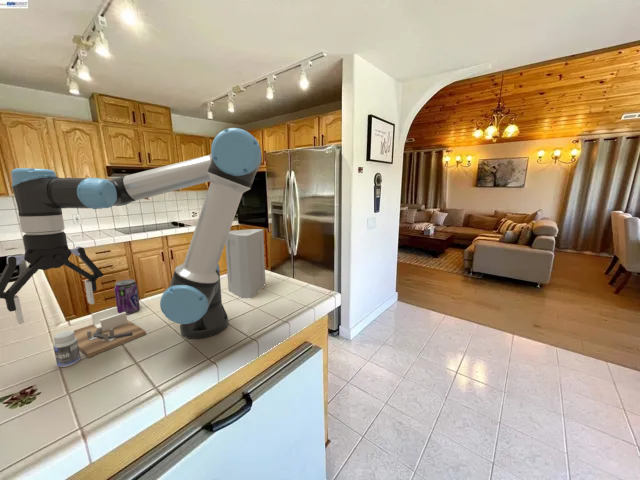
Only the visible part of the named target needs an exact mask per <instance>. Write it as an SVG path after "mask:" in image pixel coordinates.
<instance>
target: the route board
mask: <svg viewBox="0 0 640 480" xmlns="http://www.w3.org/2000/svg"><path fill="white" fill-rule="evenodd" d="M127 322H128V323H127V324H124V325H122V326H119V327H116V328H113V329H109V330H108V331H105V332H102V328H101V327H99V328H97V327H95V326H94V325H93V323H92V324H90V325H87V326H83V327H80V328H77V329H74V330H73V331H74V333H75V337H76V338H77V340H78V346H79V352H81V353H82V354H84V355H85V356H86V358H88V359H89V358H92V357H94V356H97V355H99V354H100V353H104V352H106V351H108V350H111V349H114V348H116V347H119V346H121V345H123V344H126V343H129V342H131V341H133V340H136V339H138V338H141V337H143V336H145V335H147V331H146V330H145V329H143V328H142V327H140V326H138V325H137V324H135V323H133V322H131V321H130V320H128V319H127ZM97 329H98V335H103V337H104V339H98V338H97V337H94V336H93V335H94V333H95V332H96V330H97ZM129 332H132V335H131V336H126V337H121V338H116V339H115V338H111V339H109V337H108V336H113V335H118V334H123V333H129Z"/></svg>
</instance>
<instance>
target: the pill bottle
mask: <svg viewBox="0 0 640 480" xmlns="http://www.w3.org/2000/svg"><path fill="white" fill-rule="evenodd" d="M53 340H54V343H53V349H54V355H55V356H54V357H55V361H56V366H57V367H59V368H65V367H66V368H67V367H69V366H72V365H75V364H76V363H78V362H79V361H80V360H81V354H80V352H81V351H80V350H79V346H78V340H77V338H76V337H75V333H74V330H65V331H62V332H59V333H56V334H55V335H54V336H53Z"/></svg>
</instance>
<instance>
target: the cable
mask: <svg viewBox="0 0 640 480" xmlns="http://www.w3.org/2000/svg"><path fill="white" fill-rule="evenodd" d="M131 335H132V332H129V333H123V334H118V335H113V336H108V337H109V339H111V338H115V339H116V338H121V337H126V336H131ZM93 336H94V337H97V338H98V339H104V337H103V335H98V329H97V330H96V332H95V333H94V335H93Z"/></svg>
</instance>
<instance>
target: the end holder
mask: <svg viewBox="0 0 640 480" xmlns="http://www.w3.org/2000/svg"><path fill="white" fill-rule="evenodd" d="M127 315H128V314H126V312H123V313H118V311H117V306H113V307H110V308H106V309H104V310H100V311H97V312H93V313H91V320H92V324H93V325H94V326H95V327H97V328H99V327H101V328H102V332H105V331H108V330H109V329H113V328H116V327H119V326H122V325H124V324H127V323H128V322H127V320H128V316H127Z"/></svg>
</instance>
